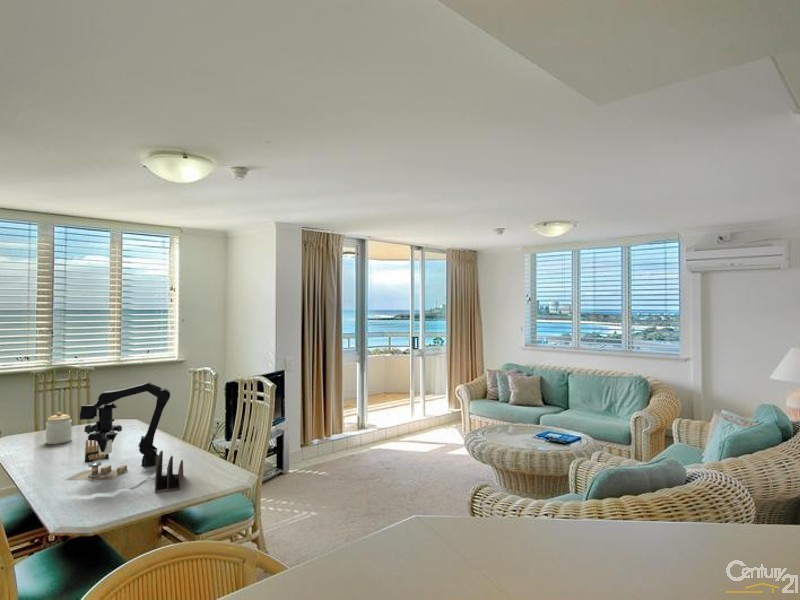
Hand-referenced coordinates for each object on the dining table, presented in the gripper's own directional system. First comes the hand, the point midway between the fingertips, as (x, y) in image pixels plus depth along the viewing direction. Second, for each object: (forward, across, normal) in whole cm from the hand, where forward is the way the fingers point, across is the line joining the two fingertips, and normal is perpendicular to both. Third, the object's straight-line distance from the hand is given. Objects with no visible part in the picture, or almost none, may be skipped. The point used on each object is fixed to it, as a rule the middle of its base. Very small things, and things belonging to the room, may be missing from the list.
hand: (105, 450), depth 236 cm
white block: (+1, 0, 0) cm, 1 cm away
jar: (+11, -60, -61) cm, 86 cm away
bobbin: (+10, +7, -1) cm, 12 cm away
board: (+11, +6, 0) cm, 13 cm away
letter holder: (+11, +15, +37) cm, 42 cm away
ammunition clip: (+11, -20, -16) cm, 28 cm away
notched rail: (+10, +2, +5) cm, 11 cm away
